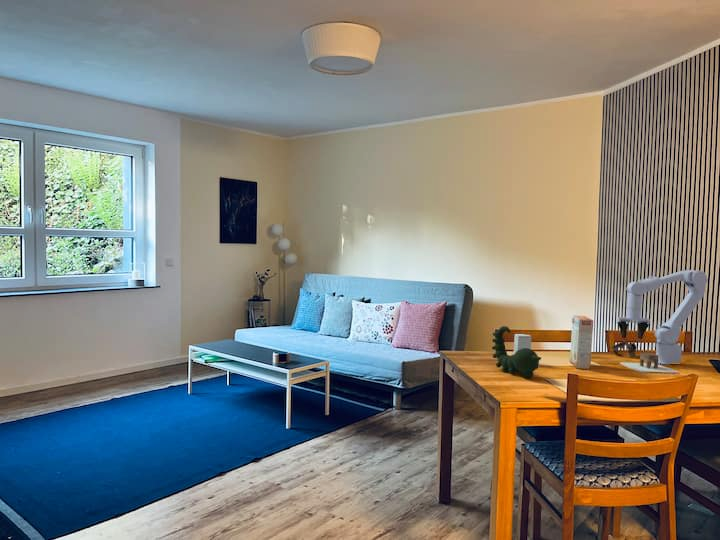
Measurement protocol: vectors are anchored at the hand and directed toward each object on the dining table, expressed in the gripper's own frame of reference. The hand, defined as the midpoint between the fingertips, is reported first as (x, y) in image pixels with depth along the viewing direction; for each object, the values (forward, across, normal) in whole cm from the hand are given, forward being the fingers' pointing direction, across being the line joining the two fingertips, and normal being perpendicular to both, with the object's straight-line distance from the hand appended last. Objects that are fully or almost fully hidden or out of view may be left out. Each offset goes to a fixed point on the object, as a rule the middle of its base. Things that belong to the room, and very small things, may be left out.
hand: (631, 338), depth 238 cm
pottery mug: (+11, -5, -12) cm, 17 cm away
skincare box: (+12, +53, +7) cm, 55 cm away
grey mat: (+10, 0, +14) cm, 18 cm away
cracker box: (+11, +29, +12) cm, 34 cm away
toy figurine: (+12, +64, +28) cm, 71 cm away
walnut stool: (+10, 0, +14) cm, 17 cm away
